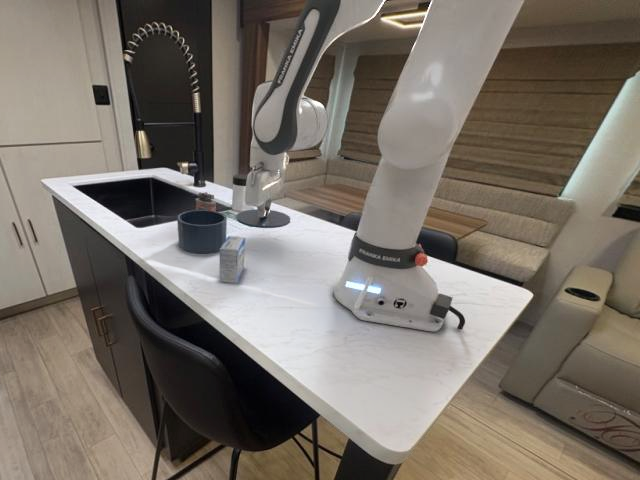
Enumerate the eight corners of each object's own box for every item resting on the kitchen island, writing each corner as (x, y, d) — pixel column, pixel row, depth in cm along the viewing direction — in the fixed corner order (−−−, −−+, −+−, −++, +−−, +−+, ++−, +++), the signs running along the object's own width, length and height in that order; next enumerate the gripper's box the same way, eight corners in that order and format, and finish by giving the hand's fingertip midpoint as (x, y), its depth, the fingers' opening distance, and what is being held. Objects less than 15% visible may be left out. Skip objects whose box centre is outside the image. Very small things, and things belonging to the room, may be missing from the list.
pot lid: (296, 217, 88) (298, 204, 86) (280, 234, 77) (282, 218, 75) (248, 210, 93) (248, 197, 91) (226, 224, 82) (227, 210, 79)
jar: (253, 212, 118) (255, 179, 112) (231, 211, 118) (233, 178, 111) (251, 205, 126) (253, 174, 119) (231, 204, 125) (232, 173, 119)
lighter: (193, 221, 107) (192, 191, 101) (200, 218, 109) (199, 189, 103) (211, 226, 103) (211, 196, 97) (218, 224, 105) (218, 194, 100)
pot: (233, 242, 92) (234, 214, 88) (212, 260, 82) (212, 229, 77) (194, 234, 96) (194, 207, 92) (169, 249, 86) (167, 219, 81)
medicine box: (237, 284, 71) (239, 250, 67) (218, 282, 72) (219, 247, 67) (243, 269, 78) (245, 237, 73) (226, 267, 79) (227, 235, 74)
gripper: (265, 167, 67) (261, 228, 75) (290, 156, 83) (285, 207, 91) (239, 164, 70) (237, 224, 77) (268, 154, 85) (265, 204, 93)
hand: (263, 214), depth 84 cm, fingers closed on pot lid, 2 cm apart
